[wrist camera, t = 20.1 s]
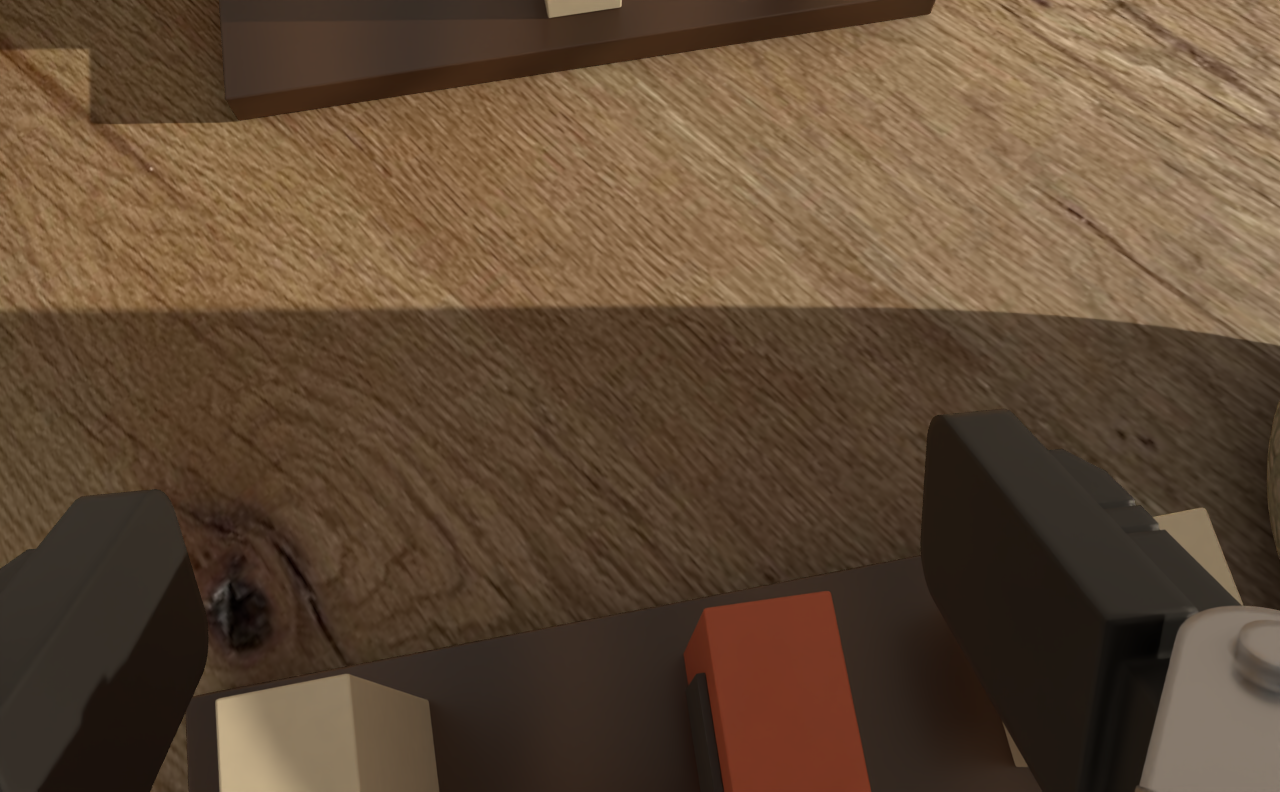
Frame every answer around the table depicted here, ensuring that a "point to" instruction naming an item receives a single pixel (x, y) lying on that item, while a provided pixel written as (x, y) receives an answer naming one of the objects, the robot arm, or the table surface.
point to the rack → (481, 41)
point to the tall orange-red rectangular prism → (773, 699)
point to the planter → (1274, 479)
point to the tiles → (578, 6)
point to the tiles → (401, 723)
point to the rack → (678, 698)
